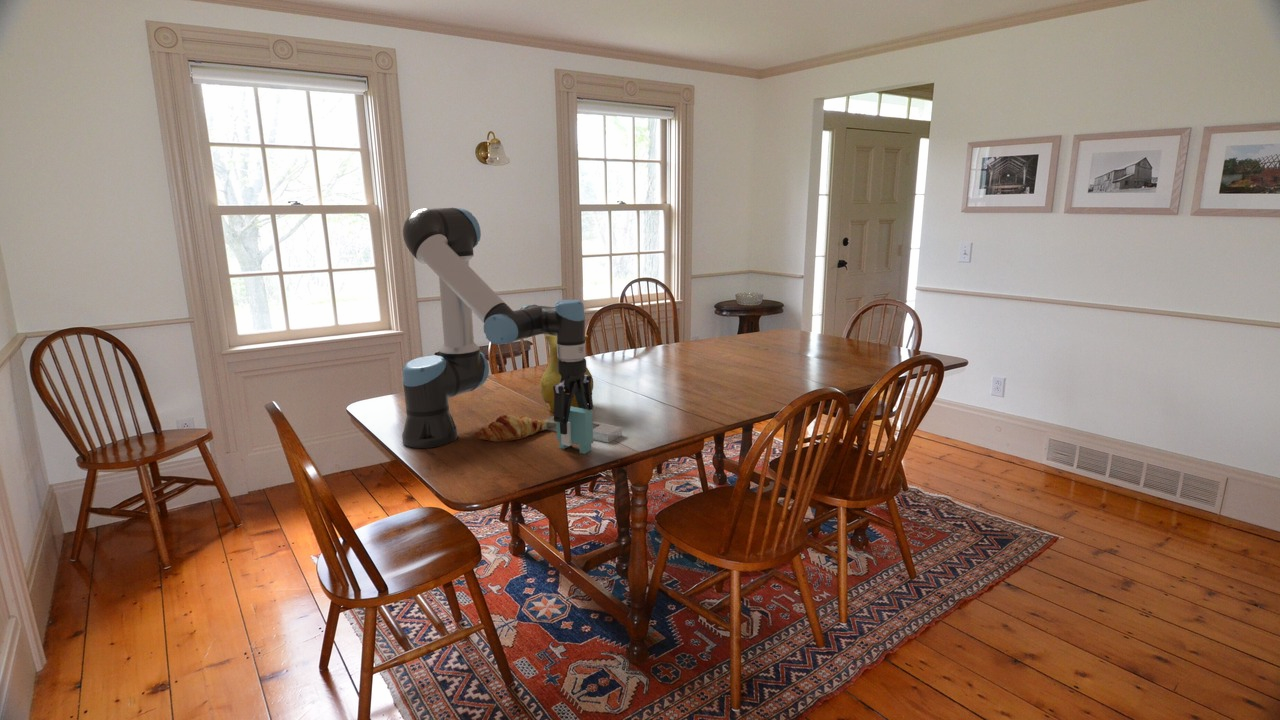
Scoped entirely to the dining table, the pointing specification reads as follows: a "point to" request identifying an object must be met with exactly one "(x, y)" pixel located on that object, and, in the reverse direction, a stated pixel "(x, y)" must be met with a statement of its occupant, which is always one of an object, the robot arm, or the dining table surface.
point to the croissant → (510, 428)
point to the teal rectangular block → (579, 429)
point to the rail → (599, 430)
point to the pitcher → (555, 375)
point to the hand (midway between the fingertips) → (574, 440)
